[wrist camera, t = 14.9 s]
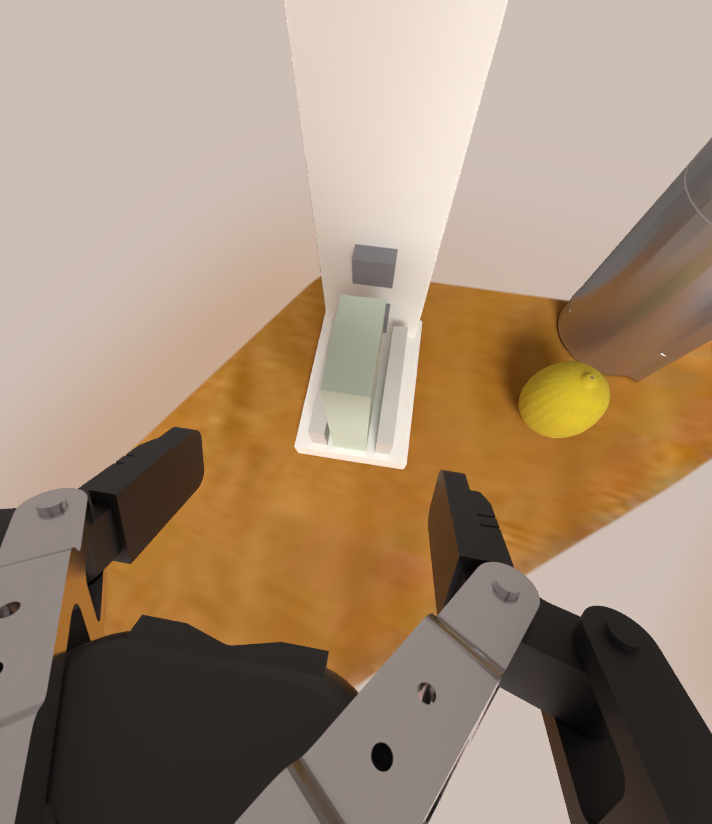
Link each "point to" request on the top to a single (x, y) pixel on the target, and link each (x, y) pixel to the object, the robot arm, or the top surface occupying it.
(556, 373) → the lemon
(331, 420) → the pale green slab
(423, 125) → the white tall l-shaped piece
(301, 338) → the top surface
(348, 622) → the top surface
